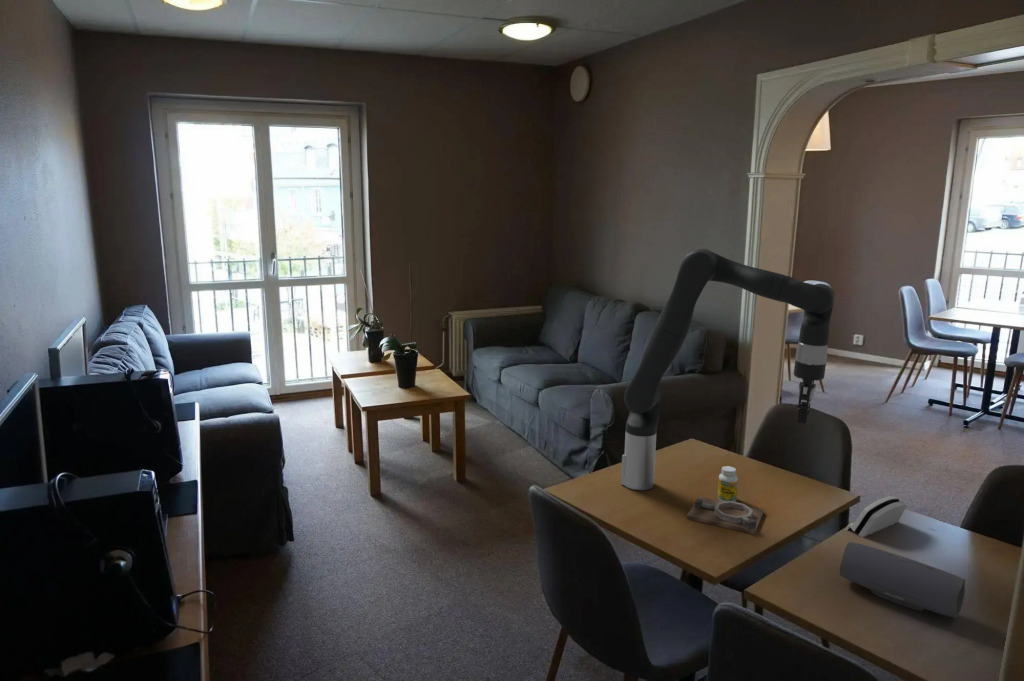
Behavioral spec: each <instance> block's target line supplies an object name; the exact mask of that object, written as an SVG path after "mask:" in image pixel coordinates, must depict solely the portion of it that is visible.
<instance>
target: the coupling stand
mask: <svg viewBox="0 0 1024 681" xmlns="http://www.w3.org/2000/svg"><path fill="white" fill-rule="evenodd" d="M764 513H765V510H764V509H760V508H756V507H752V506H748V505H746V504H745V503H741V502H737V501H735V502H732V501H726V502H725V501H720V500H719V499H715V498H714V499H713V498H710V497H706V496H700V495H699V496H698V498H696V500H695V502H694V504H693V505H692V507H691V508H690V510H689V512H688V513H687V514H686V519H687V520H691V521H696V522H701V523H703V524H708V525H713V526H717V527H722V528H725V529H729V530H734V531H739V532H743V533H747V534H751V535H756V533H757V531H758V530H757V529H758V528H759V526H760V523H761V522H762V518H763V517H764Z"/></svg>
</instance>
